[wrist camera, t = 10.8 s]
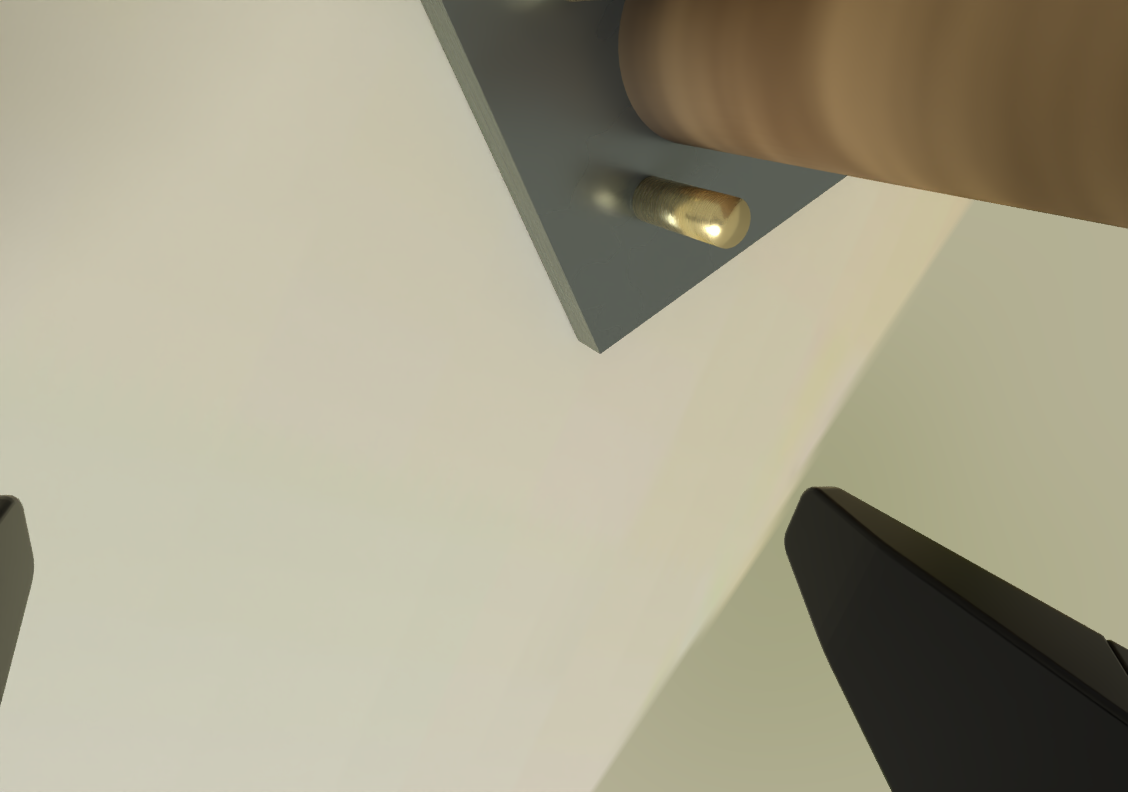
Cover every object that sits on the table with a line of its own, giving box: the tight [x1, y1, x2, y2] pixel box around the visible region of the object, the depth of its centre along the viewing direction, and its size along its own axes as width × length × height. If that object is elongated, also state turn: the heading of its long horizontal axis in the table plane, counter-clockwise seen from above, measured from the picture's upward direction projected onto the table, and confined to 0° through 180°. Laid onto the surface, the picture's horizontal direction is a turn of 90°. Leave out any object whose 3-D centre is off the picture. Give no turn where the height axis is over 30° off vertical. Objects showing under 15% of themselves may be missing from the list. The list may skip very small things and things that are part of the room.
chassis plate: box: [421, 0, 847, 354], centre depth 19 cm, size 12×12×4 cm
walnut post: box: [618, 0, 1128, 228], centre depth 14 cm, size 5×5×13 cm
